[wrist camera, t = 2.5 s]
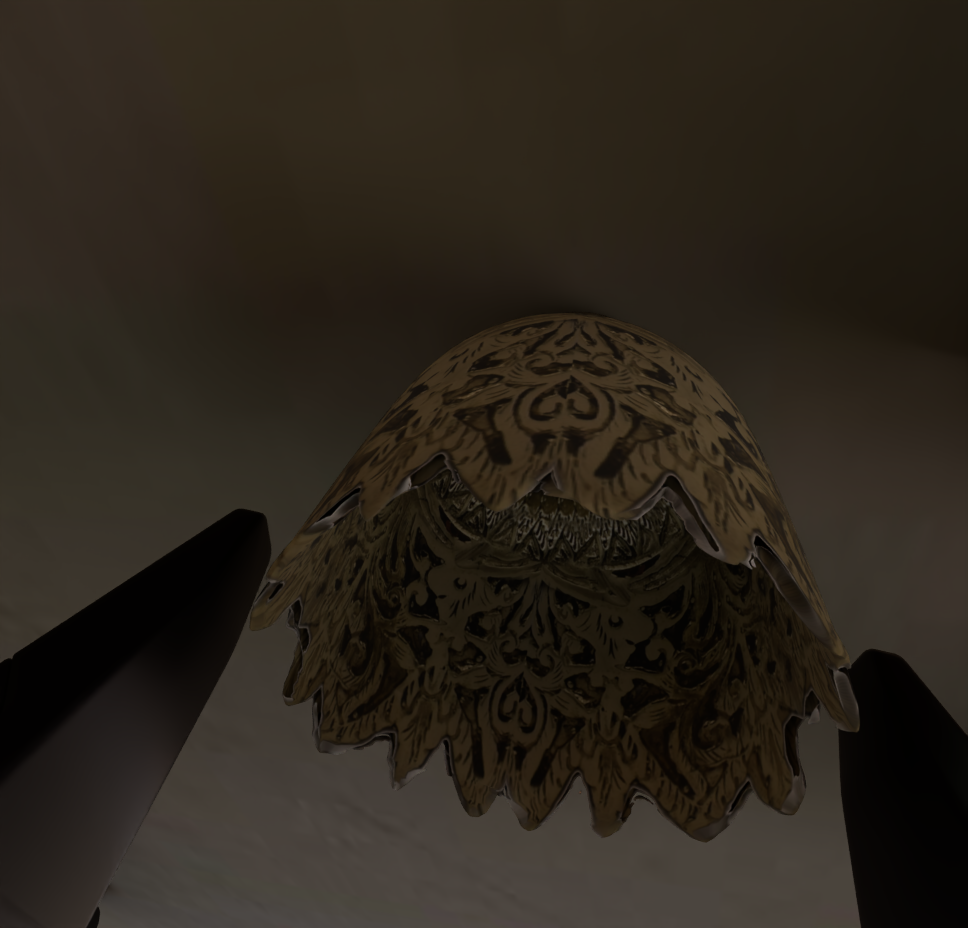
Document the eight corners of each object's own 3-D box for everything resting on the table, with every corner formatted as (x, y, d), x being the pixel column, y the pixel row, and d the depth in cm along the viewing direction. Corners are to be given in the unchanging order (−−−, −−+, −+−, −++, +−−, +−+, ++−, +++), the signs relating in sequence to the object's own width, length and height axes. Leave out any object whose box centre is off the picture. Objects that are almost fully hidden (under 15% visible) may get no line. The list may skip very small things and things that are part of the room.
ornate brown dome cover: (409, 174, 12) (178, 451, 6) (825, 224, 11) (1018, 594, 5) (415, 473, 17) (291, 785, 11) (705, 522, 16) (737, 884, 10)
